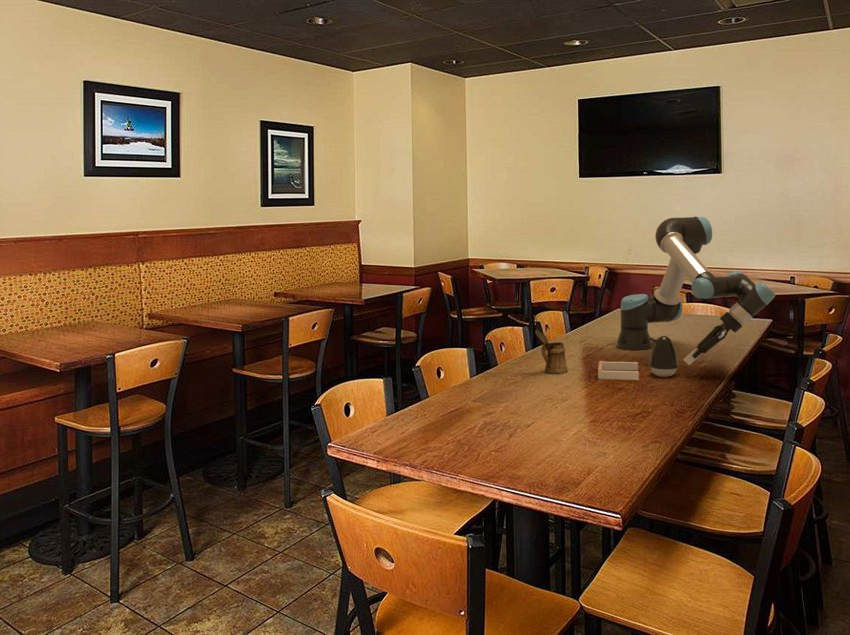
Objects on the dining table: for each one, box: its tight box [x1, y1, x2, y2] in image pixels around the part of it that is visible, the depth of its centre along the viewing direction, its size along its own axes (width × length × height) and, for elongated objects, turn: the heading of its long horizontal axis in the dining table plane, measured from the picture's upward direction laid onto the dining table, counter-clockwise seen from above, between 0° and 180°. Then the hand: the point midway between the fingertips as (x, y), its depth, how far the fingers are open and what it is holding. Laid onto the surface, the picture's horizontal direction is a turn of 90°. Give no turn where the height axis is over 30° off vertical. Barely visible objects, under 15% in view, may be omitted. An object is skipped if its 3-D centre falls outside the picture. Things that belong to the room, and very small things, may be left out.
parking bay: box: [597, 360, 640, 381], centre depth 276 cm, size 16×15×3 cm
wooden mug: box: [534, 328, 569, 374], centre depth 282 cm, size 9×14×18 cm, turn 112°
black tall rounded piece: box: [649, 335, 679, 378], centre depth 270 cm, size 10×10×15 cm
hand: (686, 362), depth 268 cm, fingers closed
